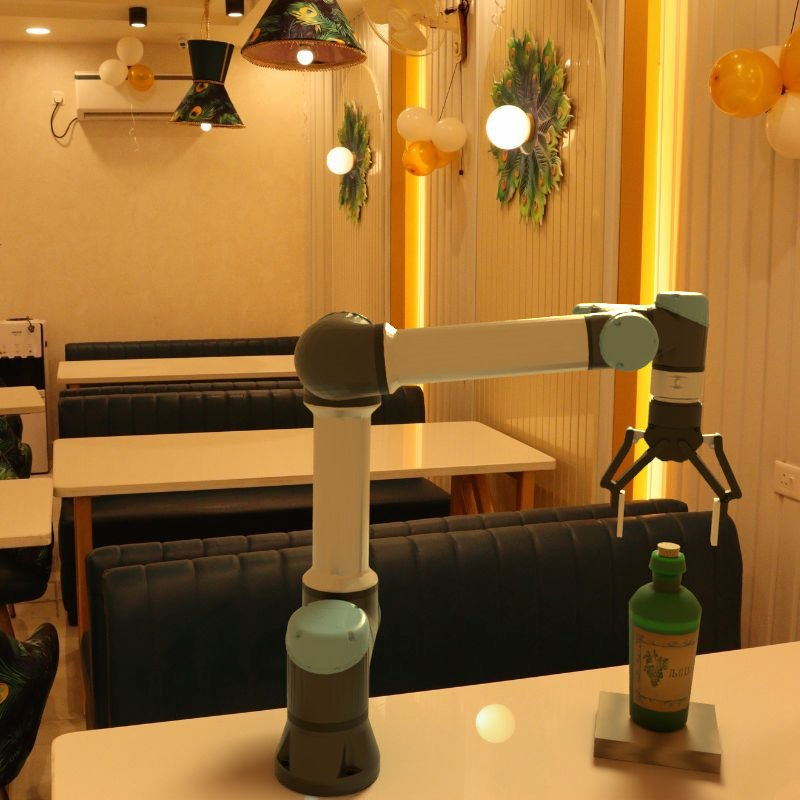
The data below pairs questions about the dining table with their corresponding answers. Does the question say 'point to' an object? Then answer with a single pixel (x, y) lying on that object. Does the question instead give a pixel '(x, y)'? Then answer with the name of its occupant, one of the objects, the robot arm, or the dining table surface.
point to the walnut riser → (657, 737)
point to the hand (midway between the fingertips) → (666, 538)
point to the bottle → (662, 644)
